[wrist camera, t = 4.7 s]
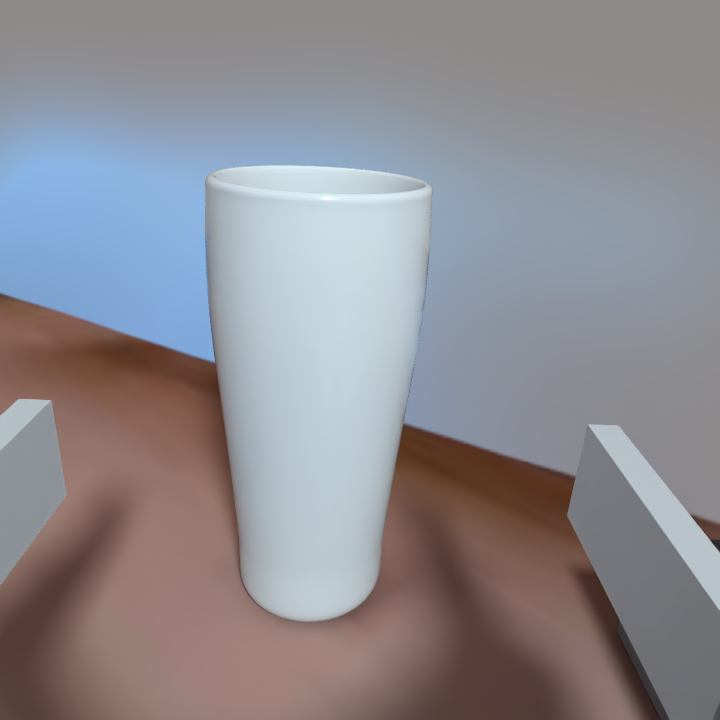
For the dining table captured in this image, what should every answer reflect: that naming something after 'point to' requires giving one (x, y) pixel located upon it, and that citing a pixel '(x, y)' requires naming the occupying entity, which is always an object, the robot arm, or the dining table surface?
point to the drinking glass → (314, 368)
